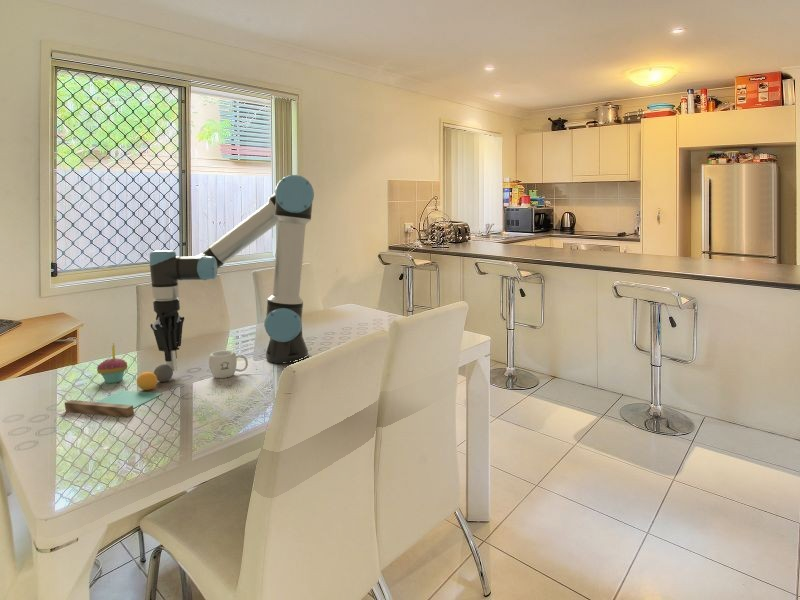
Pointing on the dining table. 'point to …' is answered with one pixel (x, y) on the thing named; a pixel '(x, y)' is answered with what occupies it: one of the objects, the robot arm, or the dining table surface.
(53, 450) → the dining table surface
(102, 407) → the wall
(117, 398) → the teal mark
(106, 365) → the cupcake
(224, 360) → the mug
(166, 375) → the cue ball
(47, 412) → the dining table surface
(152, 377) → the orange ball
